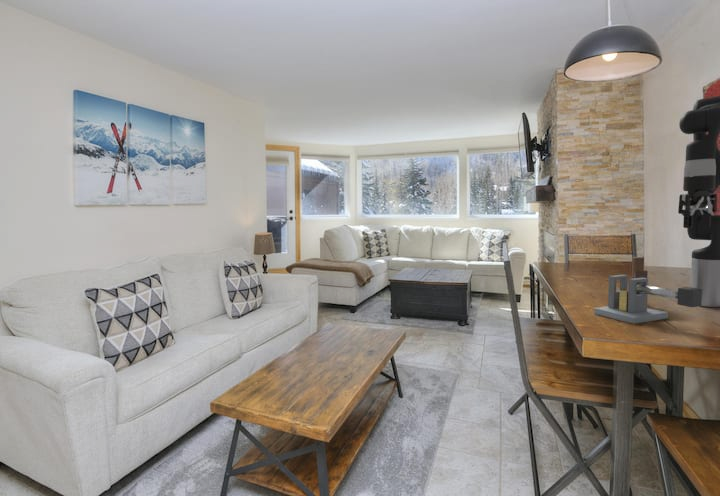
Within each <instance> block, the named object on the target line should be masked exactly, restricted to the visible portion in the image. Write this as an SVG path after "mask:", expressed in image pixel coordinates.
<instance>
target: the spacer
mask: <svg viewBox="0 0 720 496" xmlns="http://www.w3.org/2000/svg"><path fill="white" fill-rule="evenodd" d="M619 290H620V289H619ZM636 294H640V293H638V292H637V291H636ZM619 311H624V312H628V288H627V289H625V290H620V297H619Z"/></svg>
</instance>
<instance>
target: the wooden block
mask: <svg viewBox="0 0 720 496" xmlns="http://www.w3.org/2000/svg"><path fill="white" fill-rule="evenodd" d="M631 262H632V264H631V265H632V266H631V279H634V278H648V272H649V271H648V270H645V267H644V264H645V257H643V256H633V257H632V261H631ZM638 284H640V282H638V283H637V285H638Z"/></svg>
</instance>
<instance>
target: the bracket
mask: <svg viewBox="0 0 720 496" xmlns="http://www.w3.org/2000/svg"><path fill="white" fill-rule="evenodd" d="M628 276H629V275H627V274H618V275H609V276H608V302H607V306H600V307H594V308H593V313H594V315H597V316H602V317H605V318H610V319H613V320H617V321H620V322H624V323H630V324H632V325H635V324H642V323H646V322H652V321H659V320H666V319H668V317H669V312H668V311H664V310H659V309H654V308H649V307H648V297H649V296H648V295H649V294H644V293H640V294H636V288H637V283H638V282H640V284H641V285H648V286H649V278H648V277H647V278H634V279H632V278H629V277H628ZM617 280H619V289H617ZM625 289H628V312H624V311H619V297H620V290H625Z"/></svg>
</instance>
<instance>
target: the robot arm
mask: <svg viewBox="0 0 720 496" xmlns="http://www.w3.org/2000/svg"><path fill="white" fill-rule="evenodd" d="M679 129H680V131H681V132H682V133H683V134H686V135H692V136H693V139H692V140H693V141H691V142H688V143H687V144H686V147H685V163H684V168H683V169H684V170H683V187H682V190H683V191H684V192H687V193H683V194H680V195H679V200H678V209H677V210H678V211H677V212H678V214H679V215H681V216H682V217H683V224H682V225H683V228H685V229H687V236H688V237H689V238H690V240H695V241H697V240H698V241H710V244H709V245H708V246H705V247H703V248H698V249H694V250H693V251H692V252H691V263H690V266H691V267H690V283H689V285H690V286H689V287H691V288H698V289H702V303H701V306H700V307H708V308H720V214H715V213H717V212H718V195H717V193H715V192H716V190H718V188H719V187H720V150H719V148H718V147H717V143H718V140H719V135H720V95H717V96H711V97H703V98H700V99H697V100H696V101H695V102H694V104H693V108H692V109H691V110H688V111H685V113H684V114H682V116H681V117H680V120H679Z"/></svg>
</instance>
